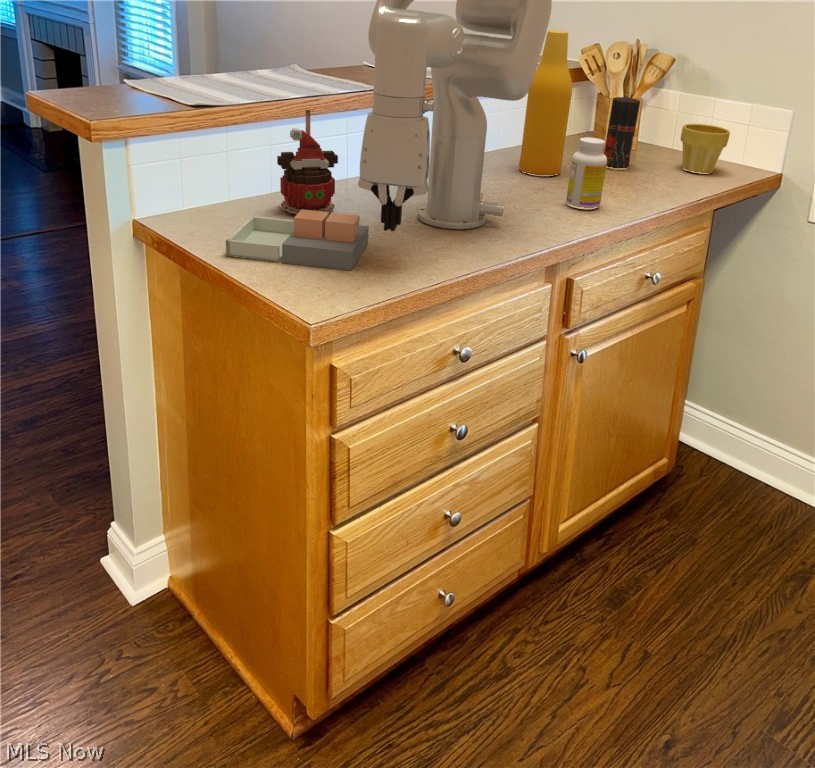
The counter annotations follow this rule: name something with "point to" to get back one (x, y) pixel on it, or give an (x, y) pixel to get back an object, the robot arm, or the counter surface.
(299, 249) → the slate board
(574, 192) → the supplement bottle
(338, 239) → the tile
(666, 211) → the counter surface
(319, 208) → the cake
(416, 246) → the counter surface
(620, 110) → the deodorant
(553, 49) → the beer bottle
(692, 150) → the plant pot
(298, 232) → the tile
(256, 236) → the sage bin
